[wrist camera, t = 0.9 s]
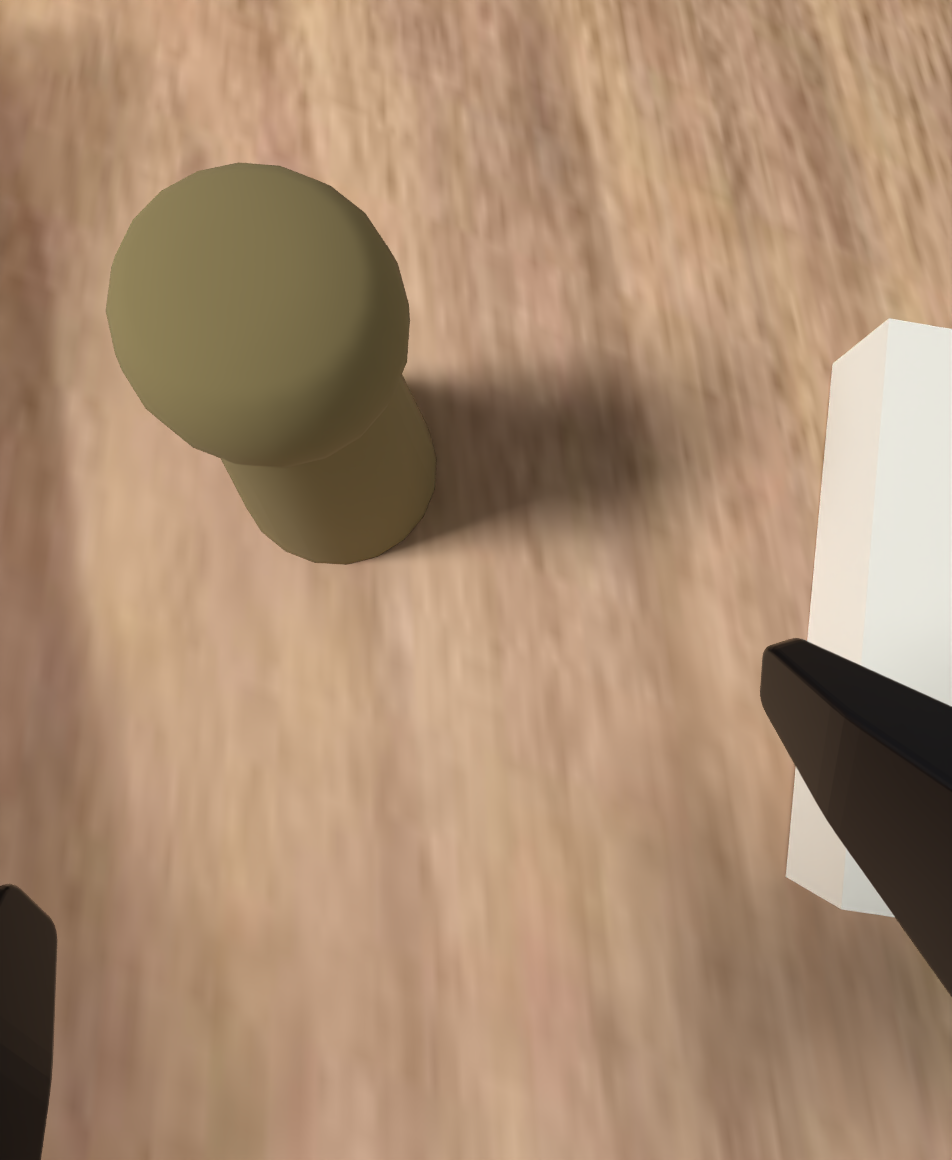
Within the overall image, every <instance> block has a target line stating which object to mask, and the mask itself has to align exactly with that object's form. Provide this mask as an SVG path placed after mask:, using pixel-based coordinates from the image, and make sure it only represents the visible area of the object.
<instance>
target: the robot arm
mask: <svg viewBox="0 0 952 1160" xmlns="http://www.w3.org/2000/svg"><path fill="white" fill-rule="evenodd" d="M760 697H761V702H762V705H763V708H764V710H765V712H766V714H767V716H768V718H769V719H770V721H771V723H772V725H773V727H774V728H775V730H776V732H777V734H778V736H779V737H780V739H781V741H782V743H783V744H784V746H785V748H786V750H787V752H788V753H789V755H790V757H791V759H792V761H793V762H794V764H795V766H796V768H797V769H798V771H799V773H800V775H801V777H802V778H803V780H804V782H805V784H806V785H807V787H808V789H809V791H810V793H811V794H812V796H813V798H814V800H815V802H816V803H817V805H818V807H819V808H820V810H821V812H822V813H823V815H824V817H825V818H826V820H827V821H828V823H829V824H830V826H831V827H832V829H833V830H834V832H835V833H836V835H837V836H838V838H839V839H840V841H841V842H842V843H843V845H844V846H845V848H846V849H847V850H848V852H849V853H850V855H851V856H852V857H853V859H854V860H855V862H856V863H857V864H858V866H859V867H860V869H861V870H862V871H863V873H864V874H865V876H866V877H867V878H868V880H869V881H870V883H871V884H872V886H873V887H874V888H875V890H876V891H877V893H878V894H879V895H880V897H881V898H882V900H883V901H884V902H885V904H886V905H887V907H888V908H889V909H890V911H891V912H892V914H893V915H894V916H895V918H896V919H897V921H898V922H899V923H900V925H901V926H902V928H903V929H904V931H905V932H906V933H907V935H908V936H909V938H910V939H911V940H912V942H913V943H914V945H915V946H916V947H917V949H918V950H919V952H920V953H921V954H922V956H923V957H924V959H925V960H926V961H927V963H928V964H929V966H930V967H931V968H932V970H933V971H934V973H935V974H936V976H937V977H938V978H939V980H940V981H941V983H942V984H943V985H944V987H945V988H946V990H947V991H948V992H949V994H950V995H951V997H952V706H950V705H948V704H946V703H943V702H941V701H939V700H937V699H934V698H932V697H930V696H928V695H926V694H923V693H921V692H919V691H917V690H915V689H912V688H910V687H908V686H906V685H903V684H901V683H899V682H897V681H895V680H892V679H890V678H888V677H886V676H883V675H881V674H879V673H877V672H875V671H872V670H870V669H868V668H866V667H864V666H861V665H859V664H857V663H855V662H852V661H850V660H848V659H846V658H844V657H841V656H839V655H837V654H835V653H832V652H830V651H828V650H826V649H824V648H821V647H819V646H817V645H815V644H813V643H810V642H808V641H806V640H803V639H799V638H793V639H789V640H786V641H782V642H779V643H776V644H773V645H770V646H768V647H767V648H766V649H765V651H764V652H763V658H762V672H761V686H760ZM56 962H57V933H56V929H55V925H54V923H53V921H52V919H51V918H50V917H49V916H48V915H47V914H46V913H45V912H44V911H43V910H42V909H41V908H40V907H39V906H38V905H37V904H36V903H35V902H34V901H33V900H32V899H31V898H30V897H29V896H28V895H27V894H26V893H24V892H23V891H22V890H21V889H20V888H19V887H18V886H15V885H12V884H5V885H2V886H0V1160H41V1154H42V1147H43V1140H44V1133H45V1126H46V1119H47V1112H48V1105H49V1096H50V1088H51V1080H52V1065H53V1046H54V1018H55V990H56Z"/></svg>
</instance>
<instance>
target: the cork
mask: <svg viewBox="0 0 952 1160" xmlns="http://www.w3.org/2000/svg"><path fill="white" fill-rule="evenodd" d="M106 314H107V319H108V323H109V328H110V333H111V337H112V342H113V346H114V351H115V355H116V357H117V359H118V362H119V364H120V367H121V369H122V371H123V373H124V374H125V376H126V378H127V379H128V381H129V382H130V384H131V386H132V387H133V389H134V391H135V392H136V394H137V395H138V397H139V399H140V400H141V402H142V403H143V405H144V407H145V408H146V409H147V410H148V411H149V412H151V413H152V414H153V415H154V416H155V417H156V418H158V419H159V420H160V421H161V422H162V423H164V424H165V425H166V426H167V427H169V428H170V429H171V430H172V431H173V432H175V433H176V434H177V435H178V436H180V437H181V438H182V439H183V440H184V441H186V442H187V443H188V444H189V445H191V446H192V447H193V448H196V449H198V450H201V451H203V452H206V453H209V454H211V455H214V456H216V457H219V458H221V460H222V462H223V464H224V466H225V468H226V469H227V471H228V473H229V475H230V477H231V479H232V481H233V483H234V485H235V487H236V489H237V491H238V493H239V495H240V496H241V498H242V500H243V502H244V504H245V506H246V508H247V509H248V511H249V512H250V514H251V516H252V517H253V519H254V520H255V522H256V524H257V525H258V527H259V528H260V530H261V532H263V533H264V534H265V535H266V536H268V537H269V538H270V539H271V540H272V541H274V542H275V543H276V544H277V545H278V546H280V547H281V548H282V549H283V550H285V551H286V552H289V553H291V554H294V555H296V556H299V557H302V558H304V559H307V560H309V561H312V562H315V563H331V564H350V563H354V562H358V561H362V560H366V559H370V558H373V557H377V556H379V555H380V554H382V553H384V552H385V551H387V550H388V549H390V548H392V547H393V546H395V545H396V544H398V543H400V542H401V541H403V540H404V539H405V538H406V537H407V535H408V534H409V533H410V532H411V531H412V529H413V528H414V527H415V526H416V525H417V523H418V522H419V521H420V520H421V519H422V518H423V516H424V514H425V511H426V509H427V506H428V504H429V501H430V499H431V496H432V494H433V491H434V489H435V475H436V455H435V451H434V448H433V444H432V440H431V436H430V433H429V430H428V427H427V425H426V423H425V421H424V419H423V417H422V415H421V413H420V411H419V409H418V407H417V405H416V402H415V400H414V398H413V396H412V394H411V392H410V390H409V388H408V386H407V384H406V382H405V380H404V378H403V375H402V372H403V370H404V367H405V365H406V363H407V354H408V339H409V324H410V316H409V303H408V300H407V296H406V292H405V289H404V285H403V281H402V277H401V274H400V270H399V266H398V263H397V261H396V260H395V258H394V256H393V255H392V253H391V251H390V250H389V248H388V246H387V245H386V244H385V242H384V241H383V239H382V238H381V236H380V235H379V233H378V232H377V230H376V229H375V227H374V226H373V224H372V223H371V221H370V220H369V218H368V217H367V215H366V214H365V213H364V212H363V211H362V210H361V209H359V208H358V207H357V206H355V205H354V204H353V203H352V202H350V201H349V200H348V199H347V198H345V197H344V196H343V195H341V194H340V193H339V192H338V191H336V190H335V189H334V188H333V187H331V186H329V185H327V184H325V183H322V182H320V181H318V180H315V179H313V178H310V177H307V176H305V175H302V174H300V173H297V172H294V171H292V170H289V169H287V168H284V167H281V166H274V165H262V164H249V163H235V164H230V165H225V166H220V167H216V168H211V169H206V170H201V171H197V172H195V173H194V174H192V175H190V176H188V177H186V178H184V179H182V180H181V181H179V182H177V183H175V184H173V185H171V186H169V187H168V188H166V189H164V190H162V191H161V192H160V193H159V194H158V195H157V196H156V197H155V198H154V199H153V200H152V201H151V202H150V203H149V204H148V205H147V206H146V207H145V208H144V209H143V210H142V211H141V212H140V213H139V214H138V215H137V216H136V217H135V218H134V219H133V221H132V223H131V225H130V227H129V229H128V231H127V233H126V235H125V237H124V239H123V241H122V243H121V245H120V247H119V249H118V251H117V253H116V255H115V258H114V261H113V264H112V267H111V274H110V282H109V290H108V298H107V306H106Z"/></svg>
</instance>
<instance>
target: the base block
mask: <svg viewBox="0 0 952 1160" xmlns="http://www.w3.org/2000/svg"><path fill="white" fill-rule="evenodd" d="M807 641H808V642H810V643H813V644H815V645H817V646H819V647H821V648H824V649H826V650H828V651H830V652H832V653H835V654H837V655H839V656H841V657H844V658H846V659H848V660H850V661H852V662H855V663H857V664H859V665H861V666H864V667H866V668H868V669H870V670H872V671H875V672H877V673H879V674H881V675H883V676H886V677H888V678H890V679H892V680H895V681H897V682H899V683H901V684H903V685H906V686H908V687H910V688H912V689H915V690H917V691H919V692H921V693H923V694H926V695H928V696H930V697H932V698H934V699H937V700H939V701H941V702H943V703H946V704H948V705H950V706H952V329H948V328H942V327H937V326H931V325H925V324H919V323H913V322H907V321H901V320H895V319H888V320H886V321H885V322H884V323H883V324H881V325H880V326H879V327H878V328H876V329H875V330H874V331H873V332H871V333H870V334H869V335H868V336H866V337H865V338H864V339H863V340H861V341H860V342H859V343H858V344H857V345H855V346H854V347H853V348H852V349H850V350H849V351H848V352H847V353H845V354H844V355H843V356H842V357H840V358H839V359H838V360H837V361H835V362H834V363H833V365H832V376H831V387H830V398H829V409H828V420H827V431H826V442H825V453H824V464H823V475H822V486H821V497H820V508H819V519H818V530H817V541H816V551H815V562H814V573H813V584H812V595H811V606H810V617H809V628H808V639H807ZM786 877H787V878H789V879H790V880H792V881H794V882H795V883H797V884H799V885H801V886H802V887H804V888H806V889H807V890H809V891H811V892H813V893H814V894H816V895H818V896H819V897H821V898H823V899H825V900H826V901H828V902H830V903H831V904H833V905H835V906H836V907H838V908H840V909H843V910H849V911H856V912H863V913H869V914H876V915H883V916H889V917H895V916H894V915H893V914H892V912H891V911H890V909H889V908H888V907H887V905H886V904H885V902H884V901H883V900H882V898H881V897H880V895H879V894H878V893H877V891H876V890H875V888H874V887H873V886H872V884H871V883H870V881H869V880H868V878H867V877H866V876H865V874H864V873H863V871H862V870H861V869H860V867H859V866H858V864H857V863H856V862H855V860H854V859H853V857H852V856H851V855H850V853H849V852H848V850H847V849H846V848H845V846H844V845H843V843H842V842H841V841H840V839H839V838H838V836H837V835H836V833H835V832H834V830H833V829H832V827H831V826H830V824H829V823H828V821H827V820H826V818H825V817H824V815H823V813H822V812H821V810H820V808H819V807H818V805H817V803H816V802H815V800H814V798H813V796H812V794H811V793H810V791H809V789H808V787H807V785H806V784H805V782H804V780H803V778H802V777H801V775H800V773H799V771H798V769H797V768H796V770H795V781H794V792H793V803H792V814H791V825H790V836H789V847H788V858H787V869H786Z"/></svg>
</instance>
